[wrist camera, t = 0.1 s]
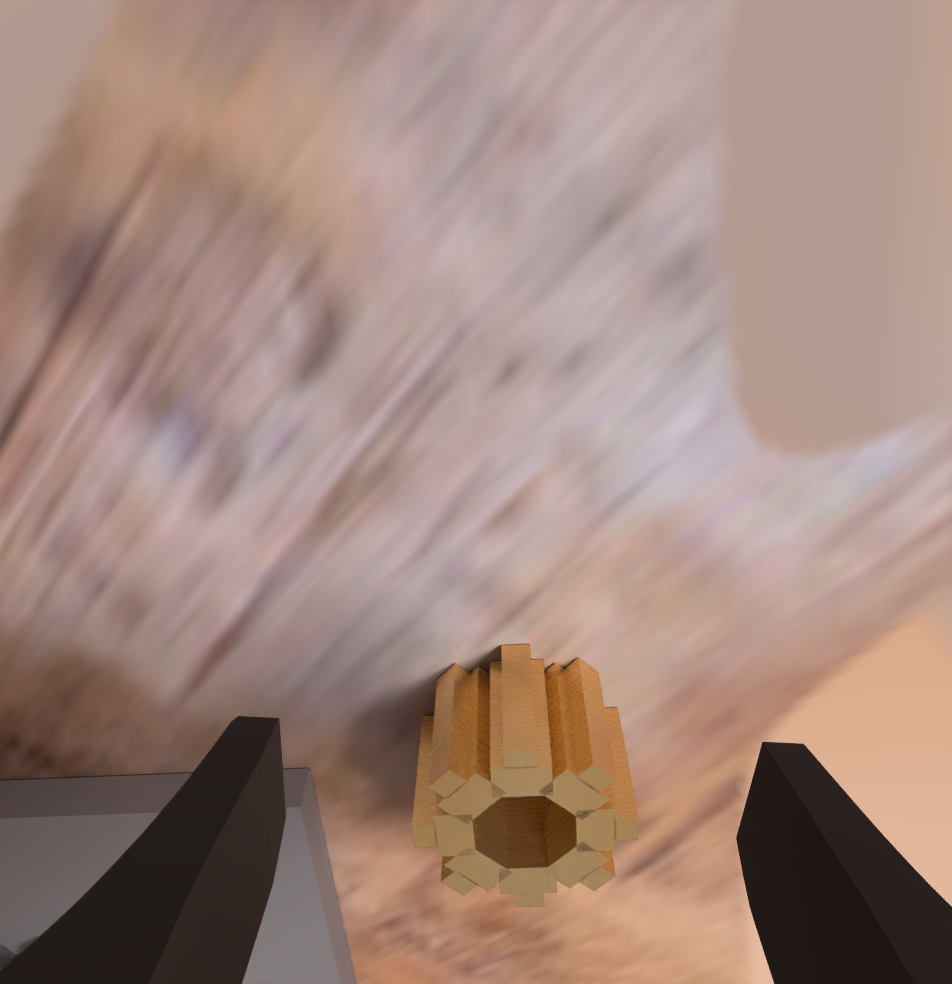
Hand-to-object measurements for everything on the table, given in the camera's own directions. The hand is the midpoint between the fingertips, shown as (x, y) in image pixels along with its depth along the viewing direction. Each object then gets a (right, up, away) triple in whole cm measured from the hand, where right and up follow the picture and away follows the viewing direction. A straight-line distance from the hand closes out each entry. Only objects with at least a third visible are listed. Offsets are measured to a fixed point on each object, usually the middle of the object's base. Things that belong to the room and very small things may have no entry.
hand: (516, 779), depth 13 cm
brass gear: (+1, -2, +13) cm, 13 cm away
